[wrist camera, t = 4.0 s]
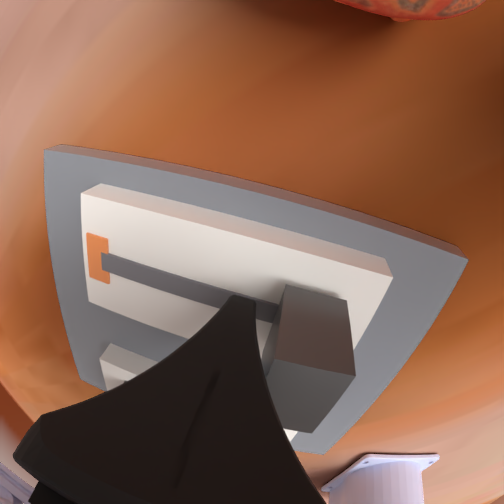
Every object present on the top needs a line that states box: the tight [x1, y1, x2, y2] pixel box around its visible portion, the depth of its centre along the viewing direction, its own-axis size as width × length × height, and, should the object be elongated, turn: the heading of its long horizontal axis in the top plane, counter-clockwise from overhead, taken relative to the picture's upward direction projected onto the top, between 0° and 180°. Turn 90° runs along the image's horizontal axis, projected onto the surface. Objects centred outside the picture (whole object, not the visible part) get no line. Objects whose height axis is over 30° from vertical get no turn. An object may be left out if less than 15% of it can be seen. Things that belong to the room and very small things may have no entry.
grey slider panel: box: [44, 144, 469, 455], centre depth 12 cm, size 16×18×6 cm
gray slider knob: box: [261, 284, 356, 434], centre depth 9 cm, size 3×2×3 cm, turn 168°
